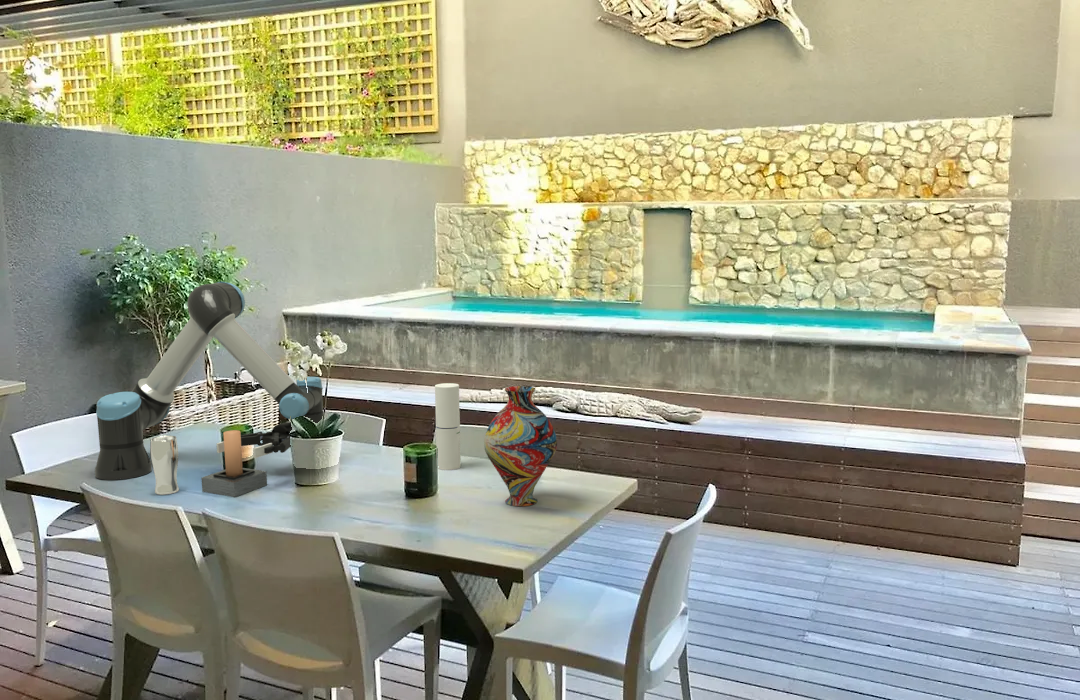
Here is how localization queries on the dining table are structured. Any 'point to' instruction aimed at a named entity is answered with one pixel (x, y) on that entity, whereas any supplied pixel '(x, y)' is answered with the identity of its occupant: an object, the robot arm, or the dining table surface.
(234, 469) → the terracotta peg
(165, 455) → the beer glass
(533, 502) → the vase
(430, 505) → the dining table surface
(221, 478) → the collar block
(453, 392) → the cylindrical container
